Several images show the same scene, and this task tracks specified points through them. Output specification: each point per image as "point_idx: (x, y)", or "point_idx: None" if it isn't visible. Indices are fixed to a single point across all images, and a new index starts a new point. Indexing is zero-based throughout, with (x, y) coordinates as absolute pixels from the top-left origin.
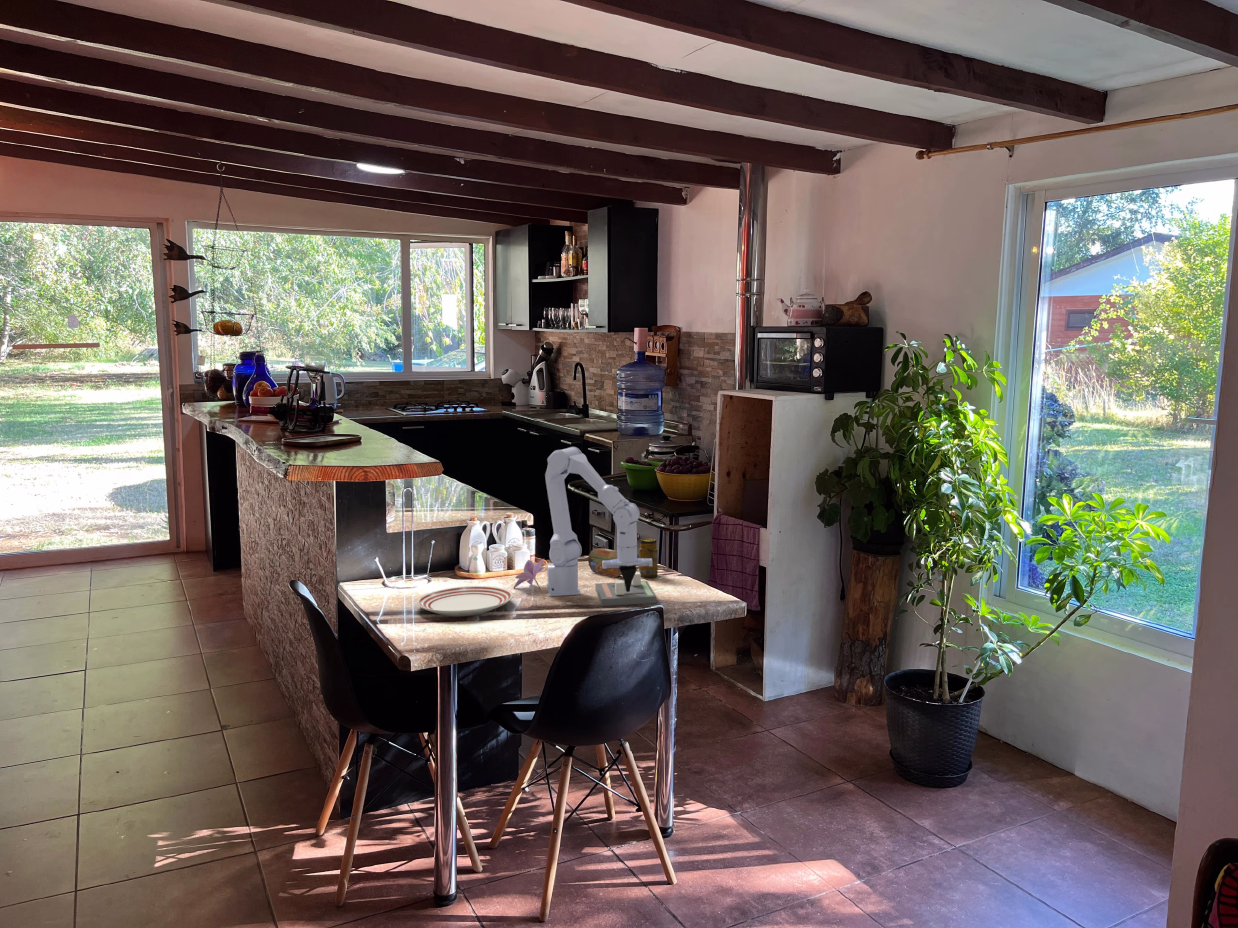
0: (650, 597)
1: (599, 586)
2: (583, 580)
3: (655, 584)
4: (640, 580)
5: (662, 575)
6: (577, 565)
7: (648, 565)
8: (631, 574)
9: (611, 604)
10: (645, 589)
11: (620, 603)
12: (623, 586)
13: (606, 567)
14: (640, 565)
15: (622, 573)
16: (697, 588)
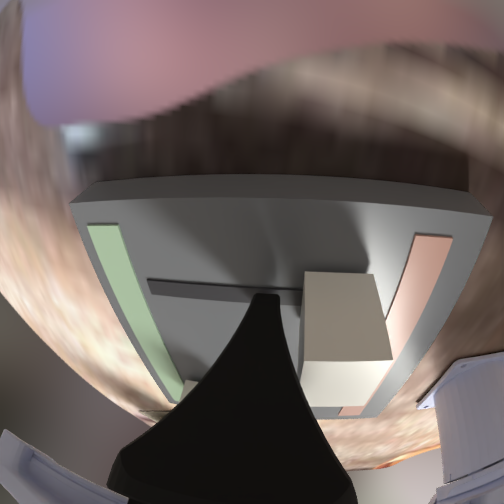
0: (103, 196)
1: (380, 399)
2: (364, 435)
3: (154, 390)
4: (180, 400)
5: (150, 418)
6: (458, 473)
7: (30, 451)
8: (193, 438)
9: (415, 186)
10: (155, 335)
11: (350, 181)
12: (313, 327)
13: (485, 501)
14: (91, 488)
15: (335, 471)
16: (33, 322)
